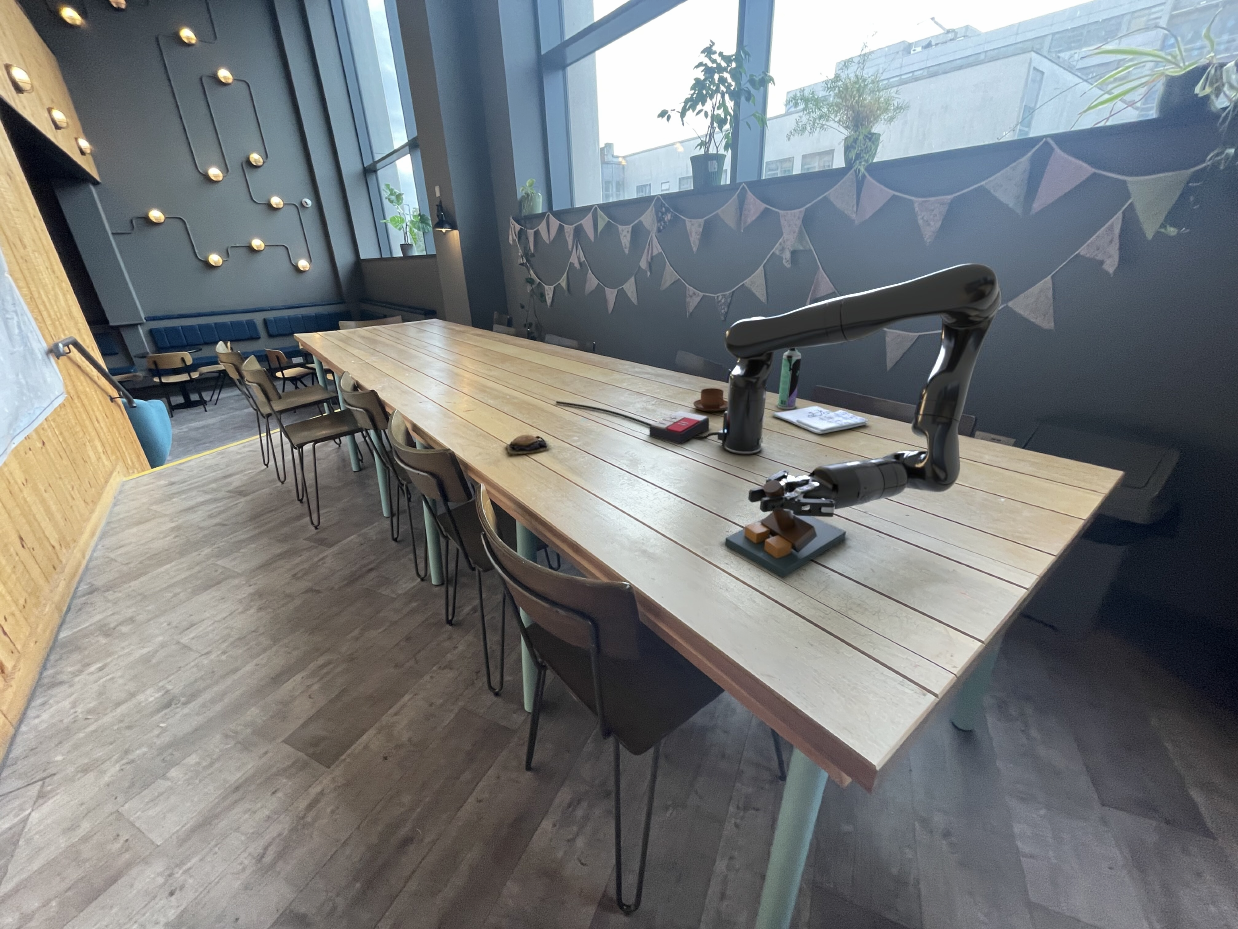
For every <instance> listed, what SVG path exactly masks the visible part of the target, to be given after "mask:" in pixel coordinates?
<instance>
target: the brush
mask: <svg viewBox="0 0 1238 929" xmlns="http://www.w3.org/2000/svg"><path fill="white" fill-rule="evenodd" d="M762 487H763V489H764V492H765V495H766V497H772V496H779V495H782V496H784V495H785V494H784V491H783V488H782V486H781V483H780V482H779V481H777V480H772V481H769V482H767V483H766V482H765V483H764V485H762ZM762 519H763V520H762ZM762 519H761V520H762V521H761V524H762V525H764V526H766V527H767V528H769V529H770V533H769V534H770V535H771V536H773V537H775V536H777V535H779V536H781V537H783V538H784V539H786V540H787V541H789V542H790V543H792V546H791V549H793V550H794V551H796V552H797V553H798V552H800V551H801V550H802V549H803V548H804V547H805V546H806V545H808V544H809V543H810V542H811V541H812V540H813V539H815V538H816V537H817V534H816V531H815V528H814V526H813V525H811V524H809V523H807V522H806V521H804V520H802V519H800V518H798V517H797V516H795V515H793V514H792V513H791V511H785V510H783V509H781V510H776V511H771V512H770V513H769V514H768V515H767V516H765V517H764V518H762Z"/></svg>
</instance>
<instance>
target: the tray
mask: <svg viewBox="0 0 1238 929" xmlns="http://www.w3.org/2000/svg"><path fill="white" fill-rule="evenodd" d="M791 513H792V514H793V511H792V510H791ZM793 515H794V514H793ZM795 516H796V515H795ZM797 517H798V518H800V519H802V520H804V521H806V522H807V523H809V524H811V525H813V526H814V528H815V531H816V534H817V537H816V538H815V539H813V540H812V541H811V542H810V543H809V544H808V545H806V546H805V547H804V548H803V549H802V550H801V551H800V552H798V553H797V552H796V551H794V550H793V549H791V553H790V554H788V555H785V556H782V557H780V558H775V557H774V556H773V555H771V554H770V553H768V552H767V551H765V550H764V547H765V541H762V542H759V543H754V542H753V541H751V540H750V539H749V538H747V537H746V536H744V532H745V527H744V528H742V529H740V530H738V531H736V532H734V533H732V534H730V535H728V536H727V537H725V540H724V545H725V546H726V547H728V548H729V549H732V550H734V551H735V552H737V553H739V554H740V555H742V556H744V557H746V558H747V559H749V560H751V561H753V562H755V563H756V564H757V565H760V566H762V567H764V568H765V569H767V570H768V571H770V572H772V573H774V574H776V575H777V576H779V577H781V578H785V577H786V576H788V575H789V574H791V573H792V572H794V571H796V570H797V569H799V568H801V567H802V566H804V565H805V564H807V563H808V562H810V561H811V560H813V559H815V558H816V557H819V555H822V553H824V552H825V551H827V550H829V549H830V548H832V547H834V546H835V545H837V544H839V543H840V542H842V541H844V540H845V539H846V535H847V530H844V529H842V528H839V527H837V526H835V525H832V524H830V523H828V522H825V521H823V520H820V519H818V518H817V517H815V516H797ZM763 519H764V518H762V519H760V520H758V521H757V522H759V523H761V521H762V520H763ZM772 537H773V536H771V535H770V534H769V538H772Z"/></svg>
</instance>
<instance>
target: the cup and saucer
mask: <svg viewBox="0 0 1238 929" xmlns="http://www.w3.org/2000/svg"><path fill="white" fill-rule="evenodd" d="M727 404H728V400H725V399H724V390H723V389H720V388H715V387H714V388H713V387H710V388H703V389H701V390H700V399H697V400H695V401H693V407H694V408H696V409H698V410H699V411H703V412H708V413H709V412H710V413H711V412H713V413H715V412H716V413H717V412H721V411H725V410H727Z"/></svg>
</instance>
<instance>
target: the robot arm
mask: <svg viewBox="0 0 1238 929" xmlns="http://www.w3.org/2000/svg"><path fill="white" fill-rule="evenodd" d="M1002 301H1003V293H1002V289H1001V285H1000V281H999V278H998V276H997V273H996V271H995V270H994V269H993V268H991V267H990V266H988V265H986V264H982V263H978V262H977V263H976V262H972V263H970V262H969V263H963V264H958V265H955V266H952V267H949V268H944V269H942V270H939V271H936V272H932V273H929V274H927V275H924V276H921V277H917V278H915V279H912V280H911V279H910V280H908V281H905V282H901V283H898V284H893V285H888V286H884V287H880V288H879V287H878V288H875V289H871V290H867V291H863V292H858V293H853V294H847V295H843V296H839V297H835V298H830V299H826V300H823V301H820V302H816V303H813V304H810V305H807V306H804V307H800V308H798V309H795V310H791V311H790V312H787V313H784V314H780V315H776V316H770V317H769V316H768V317H764V316H753V317H747V318H743V319H740V320H738V321H736V322H734V323H733V324H732V325H731V326H730V327H729V328H728V329H727V331H726V333H725V336H724V346H725V349H726V351H727V352H728V353H729V354H730V355H731V356H733V357H734V358H736V359H737V360H736V364H735V365H734V367H733V369H732V370H731V371H730V373H729V376H728V390H727V401H728V404H727V409H726V411H724V412H723V418H722V429H720V430H718V431H712V432H708V433H707V434H704V435H695V436H693V437H692V438H691V439H694V440H705V439H707V438H709V437H711V436H717V440H718V441H721V447H723V448H724V449H725V450H726V451H727V452H729V453H732V454H737V455H743V456H744V455H747V456H748V455H754V454H757V453H760V452H761V450H762V443H763V440H764V437H763V429H764V428H763V427H764V419H765V418H764V417H765V406H766V396H767V385H768V379H769V376H770V374H771V372H772V369H773V360H774V356H775V351H780V350H787V349H788V350H789V349H790V348H796V349H801V348H812V347H813V348H814V347H821V346H822V347H823V346H831V345H832V346H833V345H837V344H844V343H849V342H855V341H860V340H863V339H865V338H869V337H870V336H872V335H874V334H876V333H879V332H881V331H883V330H884V329H885V328H888V327H890V326H892V325H894V324H897V323H900V322H904V321H909V320H914V319H920V318H926V317H928V318H929V317H936V316H939V317H940V318H941V333H940V342H939V347H938V351H937V353H936V357H935V359H934V362H933V364H932V366H931V368H930V370H929V372H928V373H927V375H926V377H925V379H924V382H923V384H922V386H921V389H920V392H919V395H918V398H917V402H916V406H915V409H914V413H913V418H912V421H911V428H910V429H911V432H912V434H914V436H916V437H919V438H922V439H926V446H927V447H926V448H927V450H916V449H915V450H913V449H912V450H910V449H909V450H901V451H896V452H892V453H889V454H887V455H885V456H882V457H878V458H871V459H865V460H850V461H844V462H837V463H831V464H825V465H820V466H817V467H815V468H814V469H813V470H812V471H811V472H810V473H809V474H808V475H801V474H800V475H796V476H793V475H789V472H790V471H789V470H788V469H782V470H779V471H777V472H776V473H774V474H771V475H770V476H768V477H766V478H765V484H766V483H767V482H769V481H772V480H777V481H779V482H780V483H781V486H782V488H783V491H784V494H785V495H784V496H782V495H779V496H772V497H766V495H765V492H764V489H763V486H760V487H753V488H750V489H749V491H748V496H747V498H748V501H749V502H750V503H757V502H760V503H759V511H761V512H763V513H767V512H770V513H772V511H776V510H781V509H783V510H785V511H791V510H792V511H793V514H794V515H796V516H811V517H821V518H832V517H834V515H835V514H834V513H835V510H840V509H846V508H851V507H855V506H860V505H864V504H868V503H870V502H874V501H879V500H882V499H883V500H884V499H889V498H892V497H896V496H899V495H900V494H901V493H903V492H904V491H905V490H906V489H910V490H911V489H912V490H917V491H926V492H930V493H931V492H932V493H943V492H946V491H948V490H950V489H951V488H952V487H954V485H955V483H957V481H958V478H959V476H960V471H961V459H960V443H959V428H960V424H961V420H962V416H963V413H964V409H965V404H966V400H967V398H968V392H969V389H970V385H971V380H972V378H973V377H972V376H973V373H974V370H975V366H976V363H977V360H978V357H979V354H980V351H981V348H982V346H983V344H984V341H985V339H986V337H987V335H988V332H989V331H990V328H991V326H992V324H993V322H994V320H995V318H996V315H997V314H998V312H999V309H1000V307H1001V303H1002ZM555 403H556V404H557V405H566V406H571V407H578V408H584V409H589V410H594V411H601V412H604V413H608V414H613V415H615V416H619V417H621V418H622V417H623V418H625V419H629V420H631V421H633V422H637V423H640V424H642V425H645V426H647V427H650V426H651V425H652V424H653V423H650V422H648V421H644V420H641V419H638V418H636V417H633V416H630V415H627V414H624V413H620V412H617V411H613V410H609V409H605V408H602V407H596V406H592V405H586V404H579V403H573V402H568V401H567V402H566V401H558V400H556V401H555Z"/></svg>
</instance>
